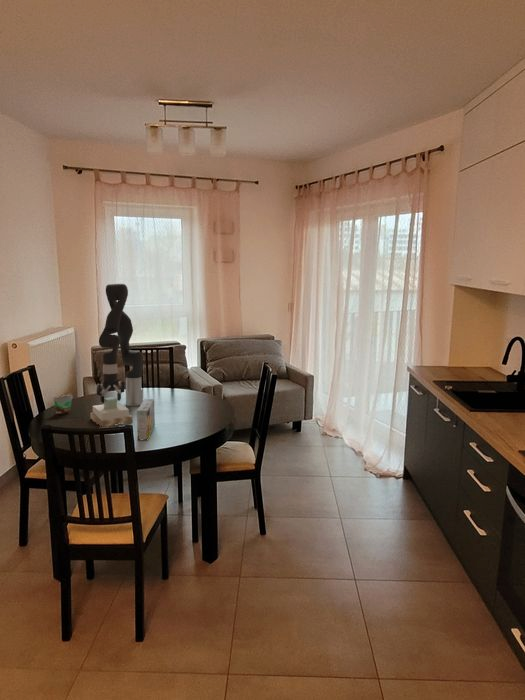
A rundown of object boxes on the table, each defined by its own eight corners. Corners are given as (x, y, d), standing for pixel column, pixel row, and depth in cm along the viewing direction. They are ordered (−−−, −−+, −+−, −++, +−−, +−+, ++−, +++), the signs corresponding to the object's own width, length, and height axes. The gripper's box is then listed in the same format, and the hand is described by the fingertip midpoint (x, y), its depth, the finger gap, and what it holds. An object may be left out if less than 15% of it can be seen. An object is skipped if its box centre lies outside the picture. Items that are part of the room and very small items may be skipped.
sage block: (113, 405, 245) (112, 396, 244) (117, 407, 241) (116, 398, 240) (104, 407, 241) (103, 398, 240) (108, 409, 238) (107, 400, 237)
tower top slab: (118, 409, 252) (118, 402, 252) (128, 416, 240) (128, 409, 239) (92, 412, 244) (92, 405, 243) (102, 420, 231) (101, 413, 231)
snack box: (144, 426, 235) (144, 398, 233) (155, 426, 236) (155, 398, 234) (136, 440, 215) (136, 410, 212) (148, 440, 215) (148, 410, 213)
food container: (64, 416, 247) (63, 398, 246) (54, 415, 249) (53, 397, 247) (77, 410, 259) (77, 393, 258) (68, 409, 261) (67, 392, 259)
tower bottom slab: (119, 415, 254) (119, 408, 254) (132, 423, 241) (132, 416, 240) (90, 420, 244) (90, 412, 244) (102, 429, 231) (102, 421, 230)
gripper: (120, 369, 246) (120, 398, 248) (94, 372, 237) (95, 401, 239) (126, 371, 240) (126, 401, 242) (99, 374, 231) (100, 405, 233)
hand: (110, 401), depth 241 cm, fingers open, 8 cm apart
